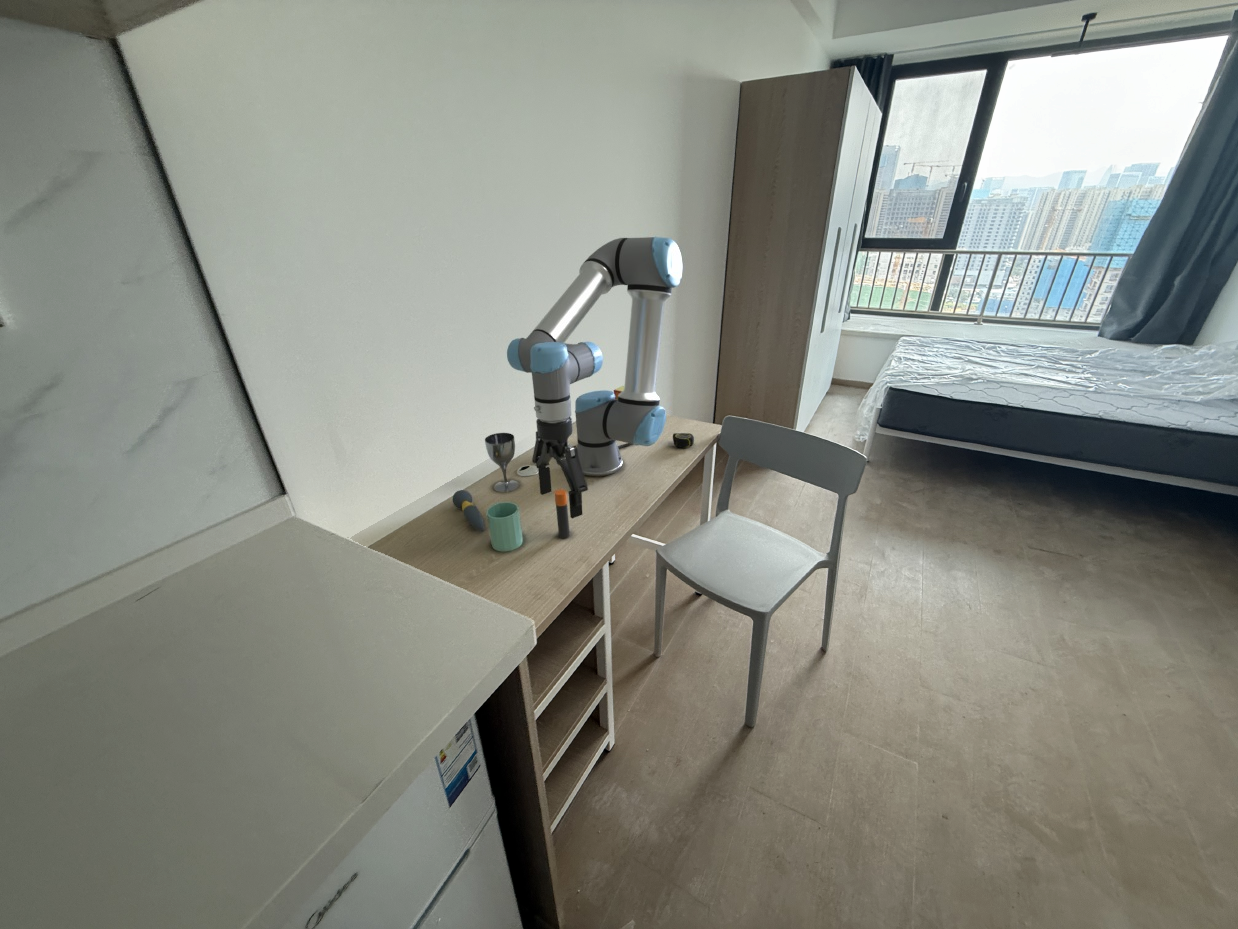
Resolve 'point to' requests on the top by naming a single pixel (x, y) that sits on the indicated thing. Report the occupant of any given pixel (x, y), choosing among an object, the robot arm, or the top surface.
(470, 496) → the paintbrush
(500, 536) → the green pen cup
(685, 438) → the tape measure
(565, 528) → the marker
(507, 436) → the wine glass
